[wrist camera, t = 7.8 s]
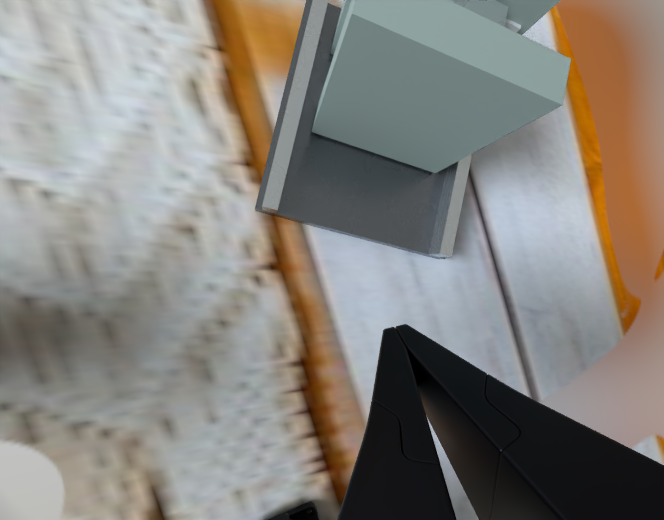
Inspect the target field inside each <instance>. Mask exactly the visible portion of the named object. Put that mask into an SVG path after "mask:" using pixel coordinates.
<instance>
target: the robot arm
mask: <svg viewBox="0 0 664 520" xmlns="http://www.w3.org/2000/svg"><path fill="white" fill-rule="evenodd" d="M426 415H427V417H428V419H429V421H430V423H431V425H432V427H433V429H434V431H435V433H436V435H437V437H438V439H439V441H440V443H441V445H442V447H443V449H444V451H445V453H446V455H447V457H448V459H449V461H450V463H451V465H452V467H453V469H454V471H455V473H456V475H457V477H458V479H459V481H460V483H461V485H462V487H463V489H464V491H465V493H466V494H467V496H468V498H469V500H470V502H471V504H472V506H473V508H474V510H475V512H476V514H477V516H478V518H479V520H664V465H662V464H660V463H658V462H656V461H654V460H652V459H650V458H648V457H646V456H644V455H642V454H640V453H638V452H636V451H634V450H632V449H630V448H628V447H626V446H624V445H622V444H620V443H618V442H616V441H614V440H612V439H610V438H608V437H606V436H604V435H602V434H600V433H598V432H596V431H594V430H592V429H590V428H588V427H586V426H584V425H582V424H580V423H578V422H576V421H574V420H572V419H570V418H568V417H567V416H565V415H563V414H561V413H558V412H557V411H555V410H553V409H551V408H549V407H547V406H545V405H543V404H541V403H539V402H537V401H535V400H533V399H531V398H529V397H527V396H525V395H523V394H522V393H520V392H518V391H516V390H514V389H513V388H511V387H509V386H507V385H506V384H504V383H502V382H501V381H499V380H497V379H496V378H494V377H492V376H491V375H489V374H488V375H487V374H486V373H485V372H483V371H482V370H480V369H479V368H477V367H475V366H474V365H472V364H470V363H469V362H467V361H466V360H464V359H462V358H461V357H459V356H457V355H456V354H454V353H452V352H451V351H449V350H448V349H446V348H444V347H443V346H441V345H439V344H438V343H436V342H435V341H433V340H431V339H430V338H428V337H426V336H425V335H423V334H422V333H420V332H418V331H417V330H415V329H413V328H412V327H410V326H408V325H406V324H404V325H400V326H396V327H395V328H394V327H391V328H387V329H384V330H383V335H382V341H381V347H380V353H379V359H378V366H377V372H376V378H375V384H374V390H373V396H372V402H371V407H370V413H369V418H368V422H367V427H366V430H365V434H364V438H363V441H362V444H361V448H360V451H359V454H358V457H357V460H356V463H355V466H354V469H353V472H352V475H351V479H350V482H349V485H348V488H347V491H346V494H345V497H344V500H343V503H342V506H341V510H340V513H339V516H338V519H337V520H456V517H455V513H454V510H453V506H452V503H451V499H450V496H449V492H448V489H447V485H446V482H445V479H444V475H443V472H442V468H441V466H440V462H439V458H438V455H437V451H436V448H435V444H434V441H433V437H432V434H431V430H430V427H429V424H428V420H427V417H426ZM309 510H312V511H311V512H310V513H307V512H308V511H309ZM269 520H319V518H318V514H317V510H316V506H315V504H314V503H311V502H309V503H306V504H304V505H301V506H299V507H297V508H295V509H292V510H290V511H288V512H285V513H283V514H281V515H278V516H276V517H274V518H271V519H269Z"/></svg>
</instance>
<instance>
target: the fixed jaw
mask: <svg viewBox="0 0 664 520" xmlns="http://www.w3.org/2000/svg"><path fill="white" fill-rule="evenodd" d="M496 1H498V2H500V3H502V4H504V5H506V6H508V12H507V17H506V22H505V28H508V29H510V30H512V31H514V32H516V33H518V34H520V35H522V34H524V33H525V32H526V31H527V30H528V29H529V28H530V27H531V26H532V25H534V24H535V23H536V22H537V21H538V20H539V19H540V18H541V17H543V16H544V15H545V14H546V13H547V12H548V11H549V10H550V9H551V8H553V7H554V6H555V5H556V4H557V3H558V2H559V1H560V0H496ZM350 3H351V0H344V2H343V6H342V9H341V13H340V16H339V19H338V23H337V27H336V31H335V35H334V39H333V43H332V48H331V52H330V54H333V55H334V53H335V50H336V47H337V44H338V41H339V38H340V34H341V31H342V28H343V25H344V22H345V19H346V16H347V13H348V10H349V6H350Z"/></svg>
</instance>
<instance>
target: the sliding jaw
mask: <svg viewBox="0 0 664 520" xmlns="http://www.w3.org/2000/svg"><path fill="white" fill-rule="evenodd" d="M570 62H571V59H570V58H568V57H566V56H564V55H562V54H560V53H558V52H555V51H553V50H551V49H549V48H547V47H545V46H543V45H541V44H539V43H537V42H535V41H533V40H530V39H528V38H526V37H524V36H522V35H520V34H518V33H516V32H514V31H512V30H510V29H508V28H505V27H503V26H501V25H499V24H497V23H495V22H493V21H491V20H489V19H487V18H485V17H483V16H481V15H478V14H476V13H474V12H472V11H470V10H468V9H466V8H464V7H462V6H460V5H458V4H456V3H453V2H451V1H449V0H351V3H350V6H349V10H348V13H347V16H346V19H345V22H344V25H343V28H342V31H341V34H340V38H339V41H338V44H337V47H336V50H335V53H334V56H333V59H332V62H331V65H330V69H329V72H328V75H327V78H326V81H325V84H324V87H323V90H322V93H321V97H320V100H319V103H318V107H317V111H316V115H315V120H314V124H313V128H312V132H313V133H316V134H319V135H322V136H325V137H328V138H331V139H334V140H337V141H340V142H343V143H346V144H349V145H352V146H355V147H358V148H361V149H364V150H367V151H370V152H373V153H376V154H379V155H382V156H385V157H388V158H391V159H394V160H397V161H400V162H403V163H406V164H409V165H412V166H415V167H418V168H421V169H424V170H427V171H430V172H433V173H437V172H439V171H441V170H443V169H444V168H446V167H448V166H450V165H452V164H454V163H456V162H457V161H459V160H461V159H463V158H465V157H467V156H469V155H470V154H472V153H474V152H476V151H478V150H480V149H482V148H484V147H485V146H487V145H489V144H491V143H493V142H495V141H497V140H498V139H500V138H502V137H504V136H506V135H508V134H510V133H511V132H513V131H515V130H517V129H519V128H521V127H523V126H524V125H526V124H528V123H530V122H532V121H534V120H536V119H538V118H539V117H541V116H543V115H545V114H547V113H549V112H551V111H552V110H554V109H556V108H558V107H560V106H562V105H563V100H564V95H565V89H566V84H567V78H568V73H569V67H570Z"/></svg>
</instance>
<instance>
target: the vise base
mask: <svg viewBox="0 0 664 520" xmlns="http://www.w3.org/2000/svg"><path fill="white" fill-rule="evenodd" d="M340 13H341V9H340V8H338V7H336V6H333V5H331V4H329V3H328V0H306V4H305V9H304V13H303V17H302V21H301V25H300V29H299V33H298V37H297V41H296V45H295V49H294V53H293V57H292V61H291V65H290V69H289V73H288V77H287V81H286V85H285V89H284V93H283V98H282V102H281V106H280V110H279V114H278V118H277V122H276V126H275V130H274V134H273V138H272V142H271V146H270V150H269V154H268V158H267V162H266V166H265V170H264V174H263V178H262V182H261V186H260V191H259V195H258V199H257V203H256V207H255V210H256V211H258V212H262V213H265V214H269V215H273V216H277V217H281V218H284V219H288V220H292V221H296V222H300V223H303V224H307V225H311V226H315V227H319V228H322V229H326V230H330V231H334V232H338V233H341V234H345V235H349V236H353V237H356V238H360V239H364V240H368V241H372V242H375V243H379V244H383V245H387V246H391V247H394V248H398V249H402V250H406V251H410V252H413V253H417V254H421V255H425V256H429V257H432V258H436V259H445V258H446V257H452V252H453V247H454V242H455V237H456V232H457V227H458V222H459V217H460V212H461V208H462V203H463V198H464V193H465V188H466V183H467V178H468V173H469V168H470V163H471V158H472V154H470V155H469V156H467V157H465V158H463V159H461V160H459V161H457V162H456V163H454V164H452V165H450V166H448V167H446V168H444V169H443V170H441V171H439V172H437V173H433V172H430V171H427V170H424V169H421V168H418V167H415V166H412V165H409V164H406V163H403V162H400V161H397V160H394V159H391V158H388V157H385V156H382V155H379V154H376V153H373V152H370V151H367V150H364V149H361V148H358V147H355V146H352V145H349V144H346V143H343V142H340V141H337V140H334V139H331V138H328V137H325V136H322V135H319V134H316V133H313V132H312V128H313V124H314V120H315V115H316V111H317V107H318V103H319V100H320V97H321V93H322V90H323V87H324V84H325V81H326V78H327V75H328V72H329V69H330V65H331V62H332V59H333V56H334V55H333V54H330V52H331V48H332V43H333V39H334V35H335V31H336V27H337V23H338V19H339V16H340Z"/></svg>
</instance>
